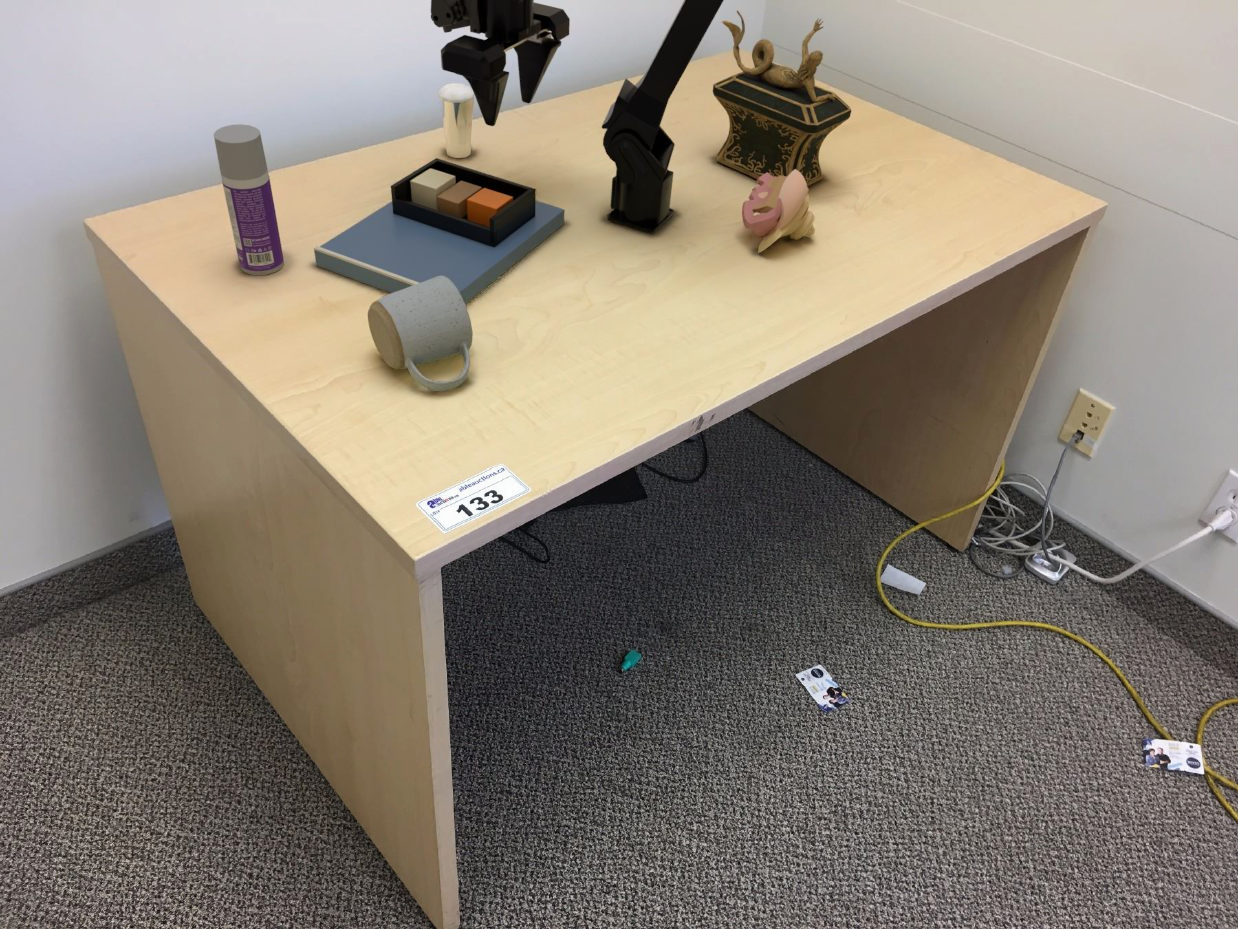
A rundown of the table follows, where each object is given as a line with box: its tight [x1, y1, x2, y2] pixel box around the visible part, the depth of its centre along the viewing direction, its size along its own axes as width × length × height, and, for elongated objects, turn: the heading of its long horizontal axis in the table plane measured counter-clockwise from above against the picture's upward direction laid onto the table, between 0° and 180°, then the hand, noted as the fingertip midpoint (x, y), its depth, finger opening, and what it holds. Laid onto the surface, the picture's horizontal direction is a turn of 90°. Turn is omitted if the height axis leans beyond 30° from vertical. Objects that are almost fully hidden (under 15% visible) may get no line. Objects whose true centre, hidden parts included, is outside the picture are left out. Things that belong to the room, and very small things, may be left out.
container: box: [213, 123, 285, 276], centre depth 105 cm, size 5×5×15 cm
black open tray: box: [390, 157, 537, 247], centre depth 117 cm, size 14×9×4 cm, turn 63°
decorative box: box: [712, 10, 852, 187], centre depth 132 cm, size 20×10×20 cm, turn 48°
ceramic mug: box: [367, 276, 474, 392], centre depth 96 cm, size 11×8×8 cm
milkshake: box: [438, 82, 475, 159], centre depth 131 cm, size 5×5×10 cm
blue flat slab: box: [313, 200, 565, 305], centre depth 116 cm, size 18×24×2 cm
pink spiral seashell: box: [741, 169, 816, 254], centre depth 120 cm, size 9×10×10 cm
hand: (508, 113), depth 119 cm, fingers open, 8 cm apart
